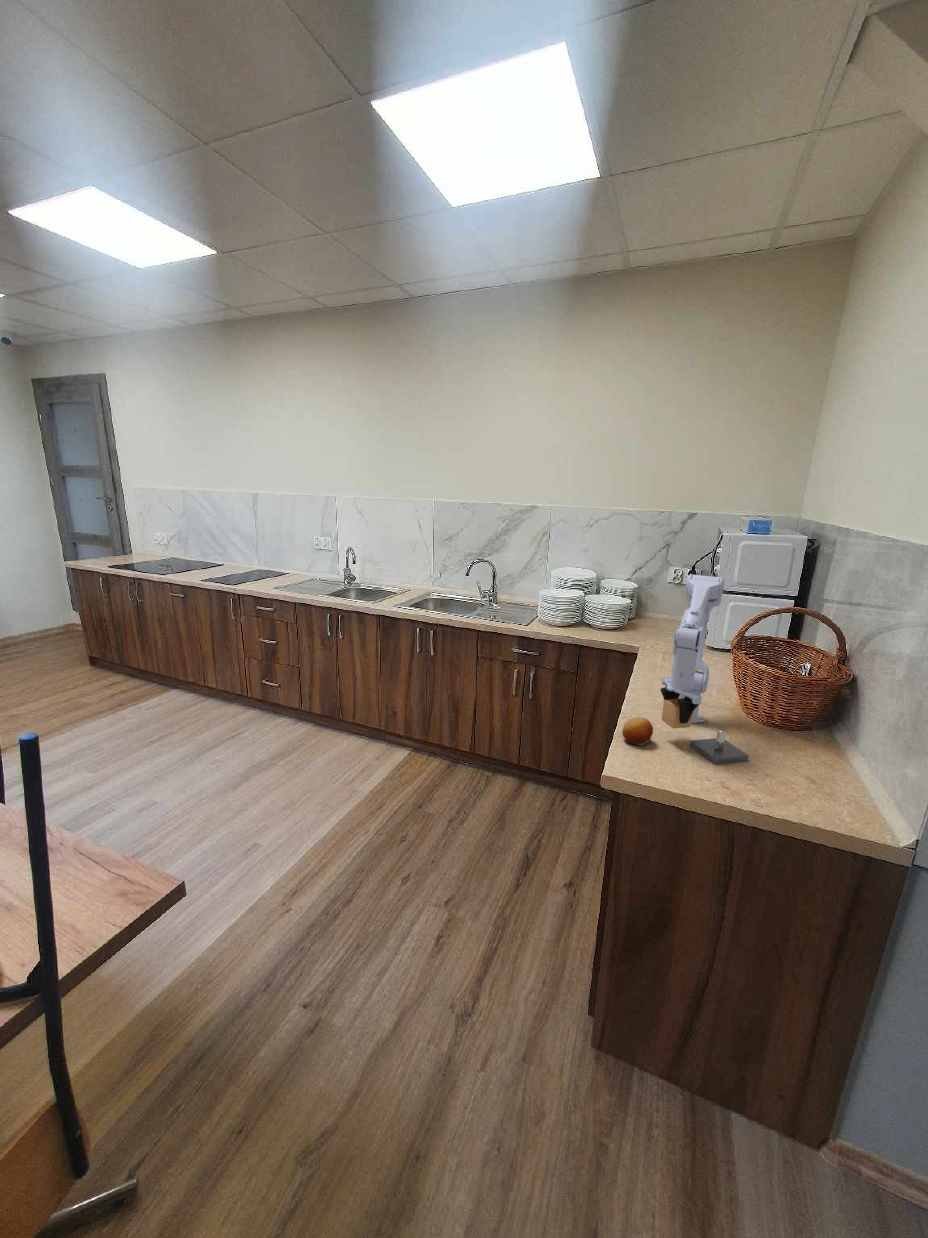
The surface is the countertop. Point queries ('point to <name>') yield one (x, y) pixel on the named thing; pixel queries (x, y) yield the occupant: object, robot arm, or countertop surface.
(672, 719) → the collar
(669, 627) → the countertop surface
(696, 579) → the robot arm
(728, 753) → the post base
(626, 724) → the fruit
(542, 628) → the countertop surface
